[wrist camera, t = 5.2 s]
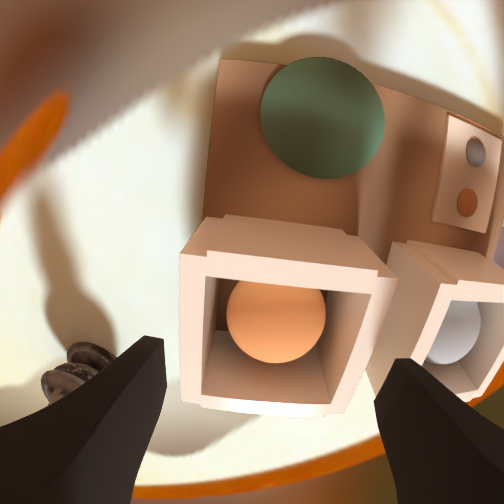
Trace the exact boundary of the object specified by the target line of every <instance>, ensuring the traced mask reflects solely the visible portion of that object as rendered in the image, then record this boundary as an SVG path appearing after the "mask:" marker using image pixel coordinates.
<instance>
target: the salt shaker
mask: <svg viewBox="0 0 504 504" xmlns="http://www.w3.org/2000/svg"><path fill="white" fill-rule="evenodd" d="M115 359H116V357H115V356H114V355H112V354H111V353H109V352H108V351H106V350H105V349H103V348H101V347H99V346H97V345H94V344H91V343H87V342H79V343H75V344H73V345H72V346H71V347H70V348H69V350H68V352H67V362H68V363H64V364H62V365H60V366H57V367H56V368H55V369H53V370H50V371H47V372H45V373H44V374H43V375H42V378H41V386H42V390H43V392H44V394H45V396H46V398H47V399H48V401H49V404H48V406H49V405H50V404H52V403H54V402H56V401H58V400H59V399H61V398H62V397H64V396H66V395H67V394H69V393H70V392H72V391H73V390H75V389H76V388H78V387H79V386H81V385H82V384H83V383H85V382H86V381H88V380H89V379H91V378H92V377H93V376H95V375H96V374H97V373H98V372H100V371H101V370H102V369H104V368H105V367H106V366H107V365H109V364H110V363H111V362H113V361H114V360H115Z"/></svg>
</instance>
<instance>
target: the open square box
mask: <svg viewBox="0 0 504 504" xmlns="http://www.w3.org/2000/svg"><path fill="white" fill-rule="evenodd" d="M386 266H387V267H388V268H389V269H390V270H391V271H392V272H393V273H394V274H395V276H396V277H397V278H398V282H397V286H396V289H395V292H394V295H393V298H392V301H391V304H390V307H389V310H388V312H387V315H386V318H385V321H384V324H383V326H382V329H381V332H380V334H379V337H378V339H377V342H376V344H375V347H374V349H373V352H372V354H371V357H370V359H369V361H368V364H367V366H366V368H365V370H366V372H367V375H368V377H369V380H370V383H371V385H372V388H373V390H374V393H375V395H376V396H377V394H378V392H379V391H380V389H381V387H382V385H383V383H384V381H385V379H386V377H387V375H388V373H389V371H390V369H391V367H392V364H393V362H394V360H395V358H411V359H413V360H414V361H415V362H417V363H418V364H419V365H421V366H422V367H423V368H424V369H426V370H427V371H428V372H429V373H430V374H432V375H433V376H434V377H435V378H436V379H438V380H439V381H440V382H441V383H442V384H443V385H445V386H446V387H447V388H448V389H449V390H450V391H452V392H453V393H454V394H455V395H456V396H458V397H459V398H460V399H461V400H463V401H464V402H467V401H471V399H472V398H475V397H480V396H482V394H483V393H484V391H485V390H486V388H487V387H488V385H489V384H490V382H491V380H492V379H493V377H494V376H495V374H496V372H497V371H498V369H499V367H500V366H501V364H502V362H503V360H504V269H503V268H501V267H500V266H498V265H497V264H495V263H494V262H492V261H491V260H489V259H488V258H486V257H484V256H483V255H481V254H480V253H478V252H473V251H468V250H462V249H457V248H452V247H446V246H441V245H435V244H429V243H424V242H418V241H412V240H407V243H406V244H405V243H399V242H393V241H392V245H391V249H390V253H389V257H388V260H387V264H386ZM451 300H457V301H474V302H477V305H478V307H479V310H480V315H481V327H480V332H479V335H478V338H477V340H476V342H475V344H474V346H473V347H472V349H471V350H470V351H469V352H468V353H467V354H466V355H465V356H464V357H462V358H461V359H459V360H458V361H456V362H453V363H450V364H444V365H438V364H432V363H430V362H427V361H425V358H426V356H427V354H428V352H429V350H430V348H431V346H432V344H433V342H434V340H435V338H436V335H437V333H438V331H439V329H440V326H441V324H442V322H443V319H444V317H445V315H446V312H447V310H448V307H449V305H450V302H451Z"/></svg>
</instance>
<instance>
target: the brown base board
mask: <svg viewBox="0 0 504 504" xmlns="http://www.w3.org/2000/svg"><path fill="white" fill-rule="evenodd" d="M225 214H228V215H236V216H245V217H253V218H261V219H269V220H277V221H285V222H293V223H300V224H307V225H315V226H322V227H329V228H336V229H342V230H343V231H344V232H345V233H346V234H347V235H353V236H358V237H359V238H360V239H361V240H362V241H363V242H364V243H365V244H366V245H367V246H368V247H369V248H370V249H371V250H372V251H373V252H374V253H375V254H376V255H377V256H378V257H379V258H380V259H381V261H382V262H383V263H384V264H385V265H386V264H387V260H388V257H389V253H390V249H391V245H392V241H393V242H399V243H405V244H406V243H407V240H412V241H418V242H424V243H429V244H435V245H441V246H446V247H452V248H457V249H462V250H468V251H473V252H478V253H480V254H481V255H483V256H484V257H486V258H488V259H489V260H491V261H492V259H493V255H494V252H495V249H496V245H497V242H498V238H499V234H500V230H501V226H502V222H503V218H504V137H503V136H501V135H499V134H497V133H495V132H493V131H491V130H490V129H488V128H486V127H484V126H482V125H480V124H478V123H476V122H474V121H471V120H469V119H467V118H465V117H463V116H461V115H458V114H456V113H454V112H452V111H449V110H447V109H445V108H442V107H440V106H437V105H435V104H432V103H430V102H427V101H424V100H422V99H419V98H416V97H413V96H411V95H408V94H405V93H402V92H399V91H396V90H393V89H389V88H386V87H383V86H379V85H376V84H372V83H370V82H369V80H368V79H367V78H366V77H365V76H364V75H363V74H362V73H360V72H359V71H358V70H356V69H355V68H353V67H352V66H350V65H348V64H346V63H344V62H341V61H339V60H335V59H331V58H325V57H312V58H305V59H301V60H298V61H296V62H293V63H291V64H289V65H281V64H274V63H265V62H256V61H245V60H231V59H220V64H219V71H218V78H217V86H216V93H215V101H214V109H213V117H212V125H211V134H210V143H209V153H208V162H207V173H206V184H205V195H204V207H203V220H204V219H205V218H206V217H213V218H222V219H223V218H224V216H225ZM203 220H202V222H203ZM239 281H240V280H233V279H225V278H219V291H218V304H217V318H216V330H219V331H227V332H229V329H228V325H227V318H226V312H227V304H228V300H229V297H230V295H231V293H232V291H233V289H234V287H235V286H236V285H237V283H238V282H239ZM319 290H320V291H321V294H322V296H323V299H324V303H325V302H326V298H327V294H328V290H323V289H319Z"/></svg>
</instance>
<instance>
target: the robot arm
mask: <svg viewBox="0 0 504 504" xmlns="http://www.w3.org/2000/svg"><path fill="white" fill-rule="evenodd" d="M492 262H494V263H495V264H497V265H498V266H500V267H501V268H503V269H504V227H501V230H500V234H499V238H498V242H497V245H496V249H495V252H494V255H493V259H492ZM166 389H167V380H166V367H165V353H164V339H161V338H155V337H150V336H145V335H144V336H143V337H142V338H140V339H139V340H138V341H137V342H135V343H134V344H133V345H132V346H131V347H129V348H128V349H127V350H126V351H125V352H123V353H122V354H121V355H120V356H119V357H117V358H116V359H115V360H114V361H113V362H111V363H110V364H109V365H107V366H106V367H105V368H104V369H102V370H101V371H100V372H98V373H97V374H96V375H95V376H93V377H92V378H91V379H89V380H88V381H86V382H85V383H83V384H82V385H81V386H79V387H78V388H76V389H75V390H73V391H72V392H70V393H69V394H67V395H66V396H64V397H62V398H61V399H59V400H58V401H56V402H54V403H52V404H50V405H49V406H47V407H45V408H43V409H41V410H39V411H37V412H35V413H33V414H31V415H28V416H26V417H24V418H21V419H19V420H17V421H14V422H12V423H10V424H7V425H4V426H1V427H0V504H130V501H131V497H132V493H133V488H134V484H135V480H136V477H137V474H138V471H139V468H140V465H141V462H142V460H143V457H144V454H145V452H146V449H147V447H148V444H149V442H150V439H151V436H152V434H153V431H154V429H155V426H156V423H157V421H158V418H159V416H160V413H161V409H162V405H163V401H164V397H165V393H166ZM374 406H375V412H376V418H377V423H378V428H379V432H380V435H381V438H382V441H383V445H384V448H385V451H386V454H387V457H388V461H389V464H390V467H391V471H392V474H393V478H394V482H395V486H396V491H397V499H398V504H504V429H502V428H500V427H499V426H497V425H496V424H494V423H493V422H491V421H489V420H488V419H486V418H485V417H484V416H482V415H481V414H479V413H478V412H477V411H475V410H474V409H473V408H471V407H470V406H469V405H468V404H466V403H465V402H464V401H463V400H461V399H460V398H459V397H458V396H456V395H455V394H454V393H453V392H452V391H450V390H449V389H448V388H447V387H446V386H445V385H443V384H442V383H441V382H440V381H439V380H438V379H436V378H435V377H434V376H433V375H432V374H430V373H429V372H428V371H427V370H426V369H424V368H423V367H422V366H421V365H419V364H418V363H417V362H415V361H414V360H413V359H411V358H395V360H394V362H393V364H392V367H391V369H390V371H389V373H388V375H387V377H386V379H385V381H384V383H383V385H382V387H381V389H380V391H379V392H378V394H377V396H376V398H375V400H374Z"/></svg>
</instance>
